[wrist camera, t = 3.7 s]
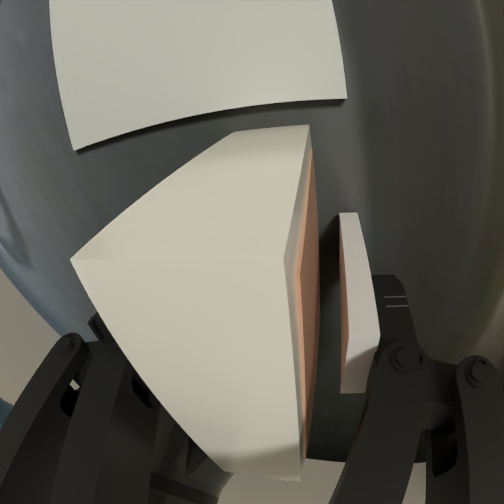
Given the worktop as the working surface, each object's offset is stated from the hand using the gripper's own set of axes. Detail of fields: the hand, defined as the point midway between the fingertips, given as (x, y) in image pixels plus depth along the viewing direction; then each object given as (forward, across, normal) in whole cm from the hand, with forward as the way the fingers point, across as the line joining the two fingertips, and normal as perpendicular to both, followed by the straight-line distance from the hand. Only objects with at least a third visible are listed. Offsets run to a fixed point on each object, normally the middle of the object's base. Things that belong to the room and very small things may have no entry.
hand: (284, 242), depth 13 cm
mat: (0, +4, -14) cm, 14 cm away
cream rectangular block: (0, 0, 0) cm, 0 cm away
